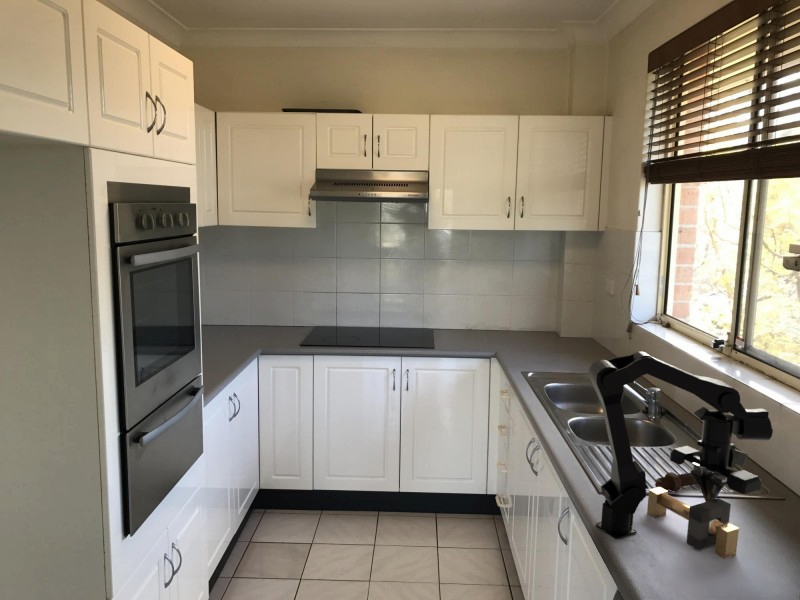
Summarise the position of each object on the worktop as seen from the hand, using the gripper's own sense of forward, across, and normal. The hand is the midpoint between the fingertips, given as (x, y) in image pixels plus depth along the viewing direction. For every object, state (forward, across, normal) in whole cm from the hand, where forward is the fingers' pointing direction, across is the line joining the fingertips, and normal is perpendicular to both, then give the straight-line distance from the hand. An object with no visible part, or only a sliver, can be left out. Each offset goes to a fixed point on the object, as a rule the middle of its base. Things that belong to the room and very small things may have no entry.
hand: (709, 504), depth 136 cm
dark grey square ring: (+7, -3, +4) cm, 8 cm away
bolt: (+8, +18, -14) cm, 24 cm away
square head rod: (+7, +2, +4) cm, 8 cm away
